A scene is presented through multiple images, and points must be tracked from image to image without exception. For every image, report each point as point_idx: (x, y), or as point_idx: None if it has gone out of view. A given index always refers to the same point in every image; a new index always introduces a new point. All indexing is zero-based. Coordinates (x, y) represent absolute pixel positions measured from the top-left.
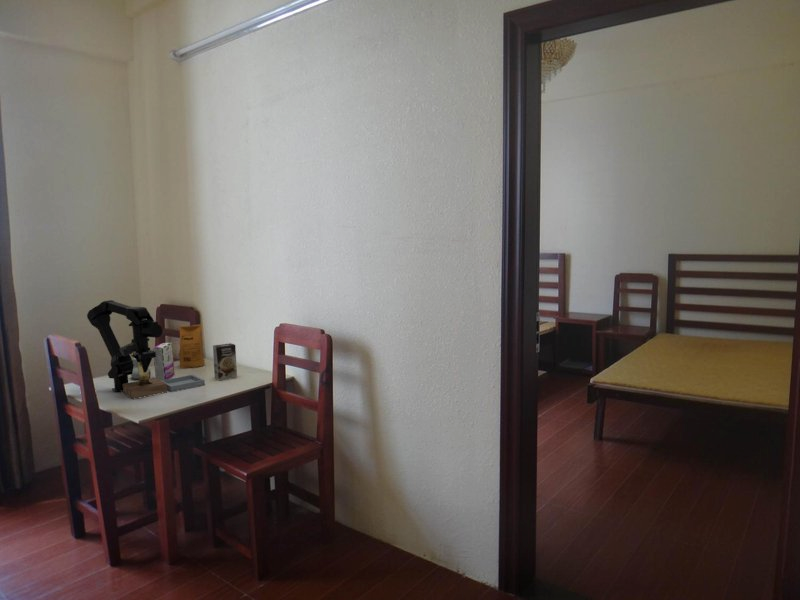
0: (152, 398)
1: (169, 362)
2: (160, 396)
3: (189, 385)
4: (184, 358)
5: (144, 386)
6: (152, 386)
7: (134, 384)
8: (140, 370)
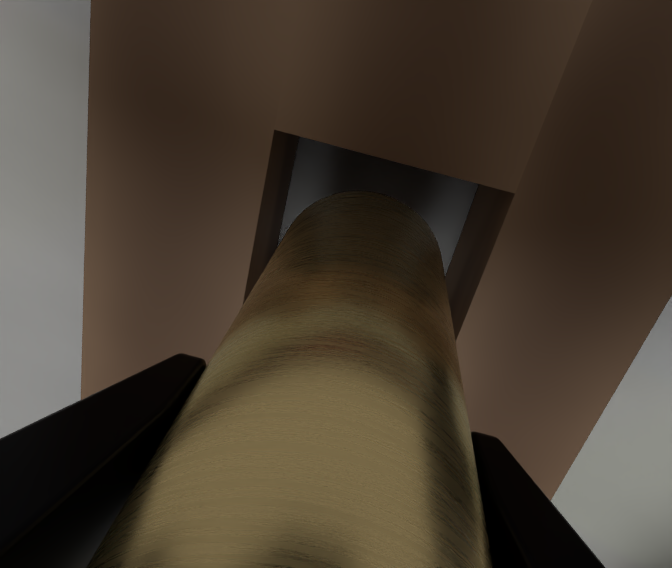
0: (8, 101)
1: None
2: (27, 209)
3: None
4: None
5: (174, 161)
6: (88, 238)
7: (492, 148)
8: (248, 344)
